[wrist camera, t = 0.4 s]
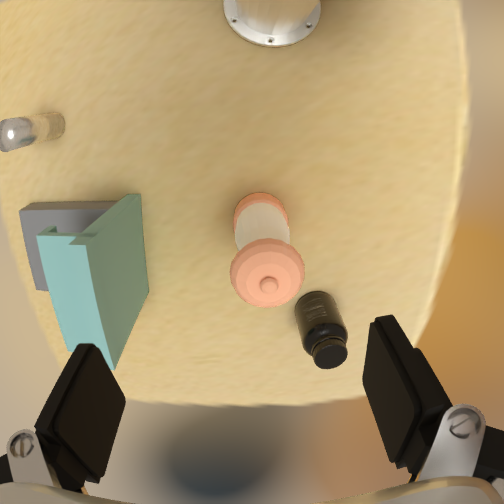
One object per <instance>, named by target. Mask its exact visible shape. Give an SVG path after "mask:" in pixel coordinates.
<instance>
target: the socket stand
mask: <svg viewBox="0 0 504 504" xmlns="http://www.w3.org/2000/svg"><path fill="white" fill-rule="evenodd" d="M19 215H20V220H21V226H22V231H23V236H24V241H25V246H26V251H27V255H28V259H29V263H30V267H31V271H32V275H33V279H34V283H35V286H36V290H42V291H49V293H50V297H51V300H52V304H53V307H54V310H55V314H56V317H57V320H58V323H59V326H60V329H61V332H62V335H63V338H64V341H65V344H66V347H67V349H68V351H70V352H73V351H74V350H75V348H76V346H77V345H78V344H79V343H93V344H95V345H96V347H98V348H100V350H101V352H102V354H103V356H104V358H105V360H106V362H107V364H108V366H109V368H110V370H115V368H116V366H117V363H118V361H119V358H120V356H121V354H122V351H123V349H124V347H125V344H126V342H127V340H128V337H129V335H130V333H131V330H132V328H133V326H134V324H135V321H136V319H137V317H138V315H139V312H140V310H141V308H142V306H143V304H144V301H145V299H146V297H147V295H148V293H149V287H148V279H147V270H146V260H145V250H144V238H143V226H142V211H141V194H127V195H126V196H125V197H124V198H122V199H121V200H120V201H77V202H43V203H31V204H29V205H28V206H26V207H24V208H23V209H21V210H19Z"/></svg>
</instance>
